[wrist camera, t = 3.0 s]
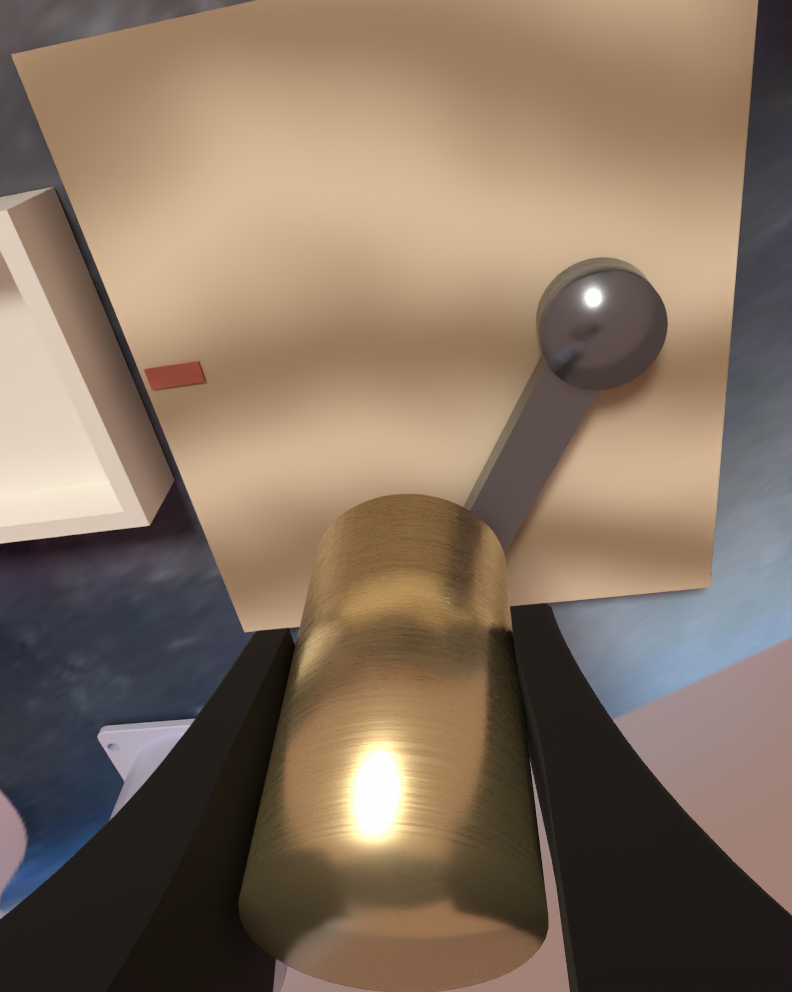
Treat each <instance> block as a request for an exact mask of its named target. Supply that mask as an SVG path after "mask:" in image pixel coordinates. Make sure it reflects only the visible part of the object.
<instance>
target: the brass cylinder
mask: <svg viewBox="0 0 792 992" xmlns="http://www.w3.org/2000/svg"><path fill="white" fill-rule="evenodd" d="M510 606H511V598H510V590H509V582H508V573H507V565H506V559H505V554H504V551H503V549H502V546H501V544H500V542H499V540H498V538H497V537H496V535H495V534H494V532H493V531H492V530H491V529H490V527H489V526H488V525H487V524H486V523H485V522H484V521H483V520H481V519H480V518H479V517H478V516H476V515H475V514H474V513H472V512H471V511H469V510H467V509H466V508H464V507H462V506H460V505H458V504H456V503H453V502H451V501H448V500H445V499H441V498H438V497H434V496H428V495H421V494H394V495H388V496H382V497H378V498H375V499H371V500H368V501H366V502H363V503H361V504H359V505H356V506H355V507H353V508H351V509H350V510H348V511H346V512H345V513H344V514H342V515H341V516H340V517H339V518H337V519H336V520H335V521H334V522H333V523H332V524H331V525H330V527H329V528H328V529H327V531H326V532H325V534H324V535H323V537H322V539H321V541H320V543H319V546H318V549H317V552H316V556H315V561H314V565H313V570H312V574H311V579H310V583H309V588H308V592H307V596H306V601H305V605H304V610H303V614H302V619H301V623H300V628H299V632H298V637H297V641H296V646H295V650H294V655H293V659H292V664H291V668H290V672H289V677H288V681H287V686H286V690H285V695H284V699H283V704H282V708H281V713H280V717H279V722H278V726H277V731H276V735H275V740H274V744H273V749H272V753H271V757H270V762H269V766H268V771H267V775H266V780H265V784H264V789H263V793H262V798H261V802H260V807H259V811H258V816H257V820H256V825H255V829H254V833H253V838H252V842H251V847H250V851H249V856H248V860H247V865H246V869H245V874H244V878H243V883H242V887H241V892H240V896H239V905H238V910H239V915H240V919H241V922H242V924H243V926H244V928H245V930H246V931H247V933H248V934H249V936H250V937H251V938H252V939H253V940H254V941H255V942H256V943H257V945H258V946H259V947H260V948H262V949H263V950H264V951H266V952H267V953H268V954H269V955H271V956H272V957H274V958H275V959H277V960H279V961H280V962H282V963H283V964H285V965H287V966H289V967H291V968H294V969H296V970H298V971H300V972H302V973H305V974H308V975H310V976H312V977H316V978H319V979H322V980H325V981H328V982H332V983H336V984H340V985H344V986H349V987H354V988H360V989H366V990H375V991H385V992H436V991H444V990H452V989H458V988H463V987H468V986H472V985H476V984H480V983H484V982H486V981H489V980H492V979H495V978H498V977H500V976H502V975H504V974H506V973H509V972H511V971H512V970H514V969H516V968H517V967H519V966H521V965H522V964H524V963H525V962H526V961H527V960H529V959H530V958H531V957H532V956H533V955H534V954H535V953H536V952H537V951H538V950H539V948H540V947H541V945H542V944H543V942H544V940H545V938H546V935H547V931H548V910H547V901H546V893H545V886H544V885H545V884H544V876H543V868H542V859H541V852H540V842H539V835H538V826H537V818H536V809H535V801H534V792H533V784H532V775H531V767H530V758H529V750H528V741H527V733H526V725H525V716H524V708H523V701H522V695H521V689H520V683H519V678H518V671H517V663H516V655H515V647H514V638H513V630H512V621H511V613H510Z"/></svg>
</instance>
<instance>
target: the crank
mask: <svg viewBox="0 0 792 992" xmlns="http://www.w3.org/2000/svg"><path fill="white" fill-rule="evenodd" d="M667 328H668V317H667V312H666V308H665V305H664V303H663V301H662V299H661V297H660V295H659V294H658V293H657V291H656V290H655V289H654V287H653V286H652V285H651V283H650V282H649V281H648V279H647V278H646V277H645V275H644V274H643V273H642V272H641V271H640V270H639V269H638V268H636V267H635V266H633V265H632V264H630V263H628V262H626V261H623V260H620V259H616V258H609V257H599V258H591V259H587V260H584V261H581V262H578V263H576V264H574V265H572V266H570V267H568V268H567V269H565V270H564V271H562V272H561V273H560V274H559V275H557V276H556V277H555V278H554V279H553V280H552V282H551V283H550V284H549V285H548V287H547V288H546V290H545V291H544V293H543V295H542V297H541V299H540V302H539V304H538V308H537V313H536V330H537V334H538V338H539V341H540V345H541V348H542V351H543V353H542V355H541V357H540V359H539V361H538V363H537V365H536V366H535V368H534V370H533V372H532V374H531V376H530V378H529V380H528V382H527V384H526V386H525V388H524V390H523V392H522V394H521V396H520V398H519V399H518V401H517V403H516V405H515V407H514V409H513V411H512V413H511V415H510V417H509V419H508V421H507V423H506V425H505V427H504V429H503V431H502V433H501V434H500V436H499V438H498V440H497V442H496V444H495V446H494V448H493V450H492V452H491V454H490V456H489V458H488V460H487V462H486V464H485V466H484V467H483V469H482V471H481V473H480V475H479V477H478V479H477V481H476V483H475V485H474V487H473V489H472V491H471V493H470V495H469V497H468V499H467V501H466V502H465V504H464V506H463V507H464V508H466V509H467V510H469V511H471V512H472V513H474V514H475V515H476V516H478V517H479V518H480V519H481V520H483V521H484V522H485V523H486V524H487V525H488V526H489V527H490V529H491V530H492V531H493V532H494V534H495V535H496V537H497V538H498V540H499V542H500V544H501V546H502V549H503V551H504V554H505V552H506V551H507V549H508V547H509V545H510V544H511V542H512V540H513V538H514V537H515V535H516V533H517V532H518V530H519V528H520V526H521V525H522V523H523V521H524V520H525V518H526V516H527V514H528V513H529V511H530V509H531V508H532V506H533V504H534V502H535V501H536V499H537V497H538V496H539V494H540V492H541V490H542V489H543V487H544V485H545V484H546V482H547V480H548V478H549V477H550V475H551V473H552V471H553V470H554V468H555V466H556V465H557V463H558V461H559V459H560V458H561V456H562V454H563V453H564V451H565V449H566V447H567V446H568V444H569V442H570V441H571V439H572V437H573V435H574V434H575V432H576V430H577V429H578V427H579V425H580V423H581V422H582V420H583V418H584V417H585V415H586V413H587V411H588V410H589V408H590V406H591V405H592V403H593V401H594V399H595V398H596V396H597V394H598V392H599V391H600V390H606V389H612V388H615V387H618V386H621V385H624V384H626V383H628V382H630V381H632V380H634V379H635V378H637V377H638V376H639V375H641V374H642V373H643V372H644V371H646V370H647V369H648V368H649V367H650V365H651V364H652V363H653V362H654V361H655V359H656V358H657V356H658V355H659V353H660V351H661V349H662V347H663V345H664V342H665V339H666V335H667Z"/></svg>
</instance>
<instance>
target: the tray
mask: <svg viewBox="0 0 792 992" xmlns="http://www.w3.org/2000/svg"><path fill="white" fill-rule="evenodd" d="M174 481H175V480H174V478H173V475H172V473H171V470H170V468H169V465H168V463H167V461H166V458H165V456H164V453H163V451H162V448H161V446H160V444H159V441H158V439H157V436H156V434H155V431H154V429H153V427H152V424H151V422H150V419H149V417H148V414H147V412H146V410H145V407H144V405H143V402H142V400H141V397H140V395H139V393H138V390H137V388H136V385H135V383H134V380H133V378H132V376H131V373H130V371H129V368H128V366H127V364H126V361H125V359H124V356H123V354H122V351H121V349H120V347H119V344H118V342H117V339H116V337H115V334H114V332H113V330H112V327H111V325H110V322H109V320H108V317H107V315H106V313H105V310H104V308H103V305H102V303H101V300H100V298H99V296H98V293H97V291H96V288H95V286H94V283H93V281H92V279H91V276H90V274H89V271H88V269H87V266H86V264H85V262H84V259H83V257H82V254H81V252H80V249H79V247H78V245H77V242H76V240H75V237H74V235H73V232H72V230H71V228H70V225H69V223H68V220H67V218H66V215H65V213H64V211H63V208H62V206H61V203H60V201H59V198H58V196H57V194H56V191H55V189H54V187H51V188H45V189H40V190H35V191H30V192H25V193H19V194H14V195H9V196H4V197H0V544H1V543H9V542H17V541H26V540H34V539H42V538H51V537H59V536H67V535H76V534H84V533H93V532H101V531H109V530H118V529H126V528H134V527H143V526H150V524H151V522H152V521H153V519H154V517H155V515H156V513H157V512H158V510H159V508H160V506H161V504H162V502H163V501H164V499H165V497H166V495H167V493H168V492H169V490H170V488H171V486H172V484H173V482H174Z"/></svg>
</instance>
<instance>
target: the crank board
mask: <svg viewBox="0 0 792 992" xmlns="http://www.w3.org/2000/svg"><path fill="white" fill-rule="evenodd" d="M757 10H758V0H256V1H251V2H247V3H242V4H238V5H233V6H229V7H224V8H220V9H215V10H210V11H206V12H201V13H197V14H192V15H188V16H183V17H179V18H174V19H170V20H165V21H161V22H156V23H152V24H147V25H143V26H138V27H134V28H129V29H125V30H120V31H116V32H111V33H107V34H102V35H97V36H93V37H88V38H84V39H79V40H75V41H70V42H66V43H61V44H57V45H52V46H48V47H43V48H39V49H34V50H30V51H25V52H21V53H16V54H12V55H11V56H12V58H13V61H14V63H15V66H16V68H17V71H18V73H19V75H20V78H21V80H22V83H23V85H24V88H25V90H26V93H27V95H28V98H29V100H30V103H31V105H32V108H33V110H34V113H35V115H36V118H37V120H38V122H39V125H40V127H41V130H42V132H43V135H44V137H45V140H46V142H47V145H48V147H49V150H50V152H51V155H52V157H53V160H54V162H55V165H56V167H57V169H58V172H59V174H60V177H61V179H62V182H63V184H64V187H65V189H66V192H67V194H68V197H69V199H70V202H71V204H72V207H73V209H74V212H75V214H76V217H77V219H78V221H79V224H80V226H81V229H82V231H83V234H84V236H85V239H86V241H87V244H88V246H89V249H90V251H91V254H92V256H93V259H94V261H95V264H96V266H97V268H98V271H99V273H100V276H101V278H102V281H103V283H104V286H105V288H106V291H107V293H108V296H109V298H110V301H111V303H112V306H113V308H114V311H115V313H116V315H117V318H118V320H119V323H120V325H121V328H122V330H123V333H124V335H125V338H126V340H127V343H128V345H129V348H130V350H131V353H132V355H133V358H134V360H135V362H136V365H137V367H138V370H139V372H140V375H141V377H142V380H143V382H144V385H145V387H146V390H147V392H148V395H149V397H150V400H151V402H152V405H153V407H154V410H155V412H156V414H157V417H158V419H159V422H160V424H161V427H162V429H163V432H164V434H165V437H166V439H167V442H168V444H169V447H170V449H171V452H172V454H173V457H174V459H175V461H176V464H177V466H178V469H179V471H180V474H181V476H182V479H183V481H184V484H185V486H186V489H187V491H188V494H189V496H190V499H191V501H192V504H193V506H194V508H195V511H196V513H197V516H198V518H199V521H200V523H201V526H202V528H203V531H204V533H205V536H206V538H207V541H208V543H209V546H210V548H211V551H212V553H213V556H214V558H215V560H216V563H217V565H218V568H219V570H220V573H221V575H222V578H223V580H224V583H225V585H226V588H227V590H228V593H229V595H230V598H231V600H232V603H233V605H234V607H235V610H236V612H237V615H238V617H239V620H240V622H241V625H242V627H243V630H244V632H251V631H259V630H269V629H280V628H292V627H300V623H301V619H302V614H303V610H304V605H305V601H306V596H307V592H308V588H309V583H310V579H311V574H312V570H313V565H314V561H315V556H316V552H317V549H318V546H319V543H320V541H321V539H322V537H323V535H324V534H325V532H326V531H327V529H328V528H329V527H330V525H331V524H332V523H333V522H334V521H335V520H336V519H337V518H339V517H340V516H341V515H342V514H344V513H345V512H346V511H348V510H350V509H351V508H353V507H355V506H356V505H359V504H361V503H363V502H366V501H368V500H371V499H375V498H378V497H382V496H388V495H394V494H421V495H428V496H434V497H438V498H441V499H445V500H448V501H451V502H453V503H456V504H458V505H460V506H462V507H463V506H464V504H465V502H466V501H467V499H468V497H469V495H470V493H471V491H472V489H473V487H474V485H475V483H476V481H477V479H478V477H479V475H480V473H481V471H482V469H483V467H484V466H485V464H486V462H487V460H488V458H489V456H490V454H491V452H492V450H493V448H494V446H495V444H496V442H497V440H498V438H499V436H500V434H501V433H502V431H503V429H504V427H505V425H506V423H507V421H508V419H509V417H510V415H511V413H512V411H513V409H514V407H515V405H516V403H517V401H518V399H519V398H520V396H521V394H522V392H523V390H524V388H525V386H526V384H527V382H528V380H529V378H530V376H531V374H532V372H533V370H534V368H535V366H536V365H537V363H538V361H539V359H540V357H541V355H542V353H543V351H542V348H541V345H540V341H539V338H538V334H537V330H536V313H537V308H538V304H539V302H540V299H541V297H542V295H543V293H544V291H545V290H546V288H547V287H548V285H549V284H550V283H551V282H552V280H553V279H554V278H555V277H556V276H557V275H559V274H560V273H561V272H562V271H564V270H565V269H567V268H568V267H570V266H572V265H574V264H576V263H578V262H581V261H584V260H587V259H591V258H599V257H609V258H616V259H620V260H623V261H626V262H628V263H630V264H632V265H633V266H635V267H636V268H638V269H639V270H640V271H641V272H642V273H643V274H644V275H645V277H646V278H647V279H648V281H649V282H650V283H651V285H652V286H653V287H654V289H655V290H656V291H657V293H658V294H659V295H660V297H661V299H662V301H663V303H664V305H665V308H666V312H667V317H668V328H667V335H666V339H665V342H664V345H663V347H662V349H661V351H660V353H659V355H658V356H657V358H656V359H655V361H654V362H653V363H652V364H651V365H650V367H649V368H648V369H647V370H646V371H644V372H643V373H642V374H641V375H639V376H638V377H637V378H635V379H634V380H632V381H630V382H628V383H626V384H624V385H621V386H618V387H615V388H612V389H606V390H600V391H599V392H598V394H597V396H596V398H595V399H594V401H593V403H592V405H591V406H590V408H589V410H588V411H587V413H586V415H585V417H584V418H583V420H582V422H581V423H580V425H579V427H578V429H577V430H576V432H575V434H574V435H573V437H572V439H571V441H570V442H569V444H568V446H567V447H566V449H565V451H564V453H563V454H562V456H561V458H560V459H559V461H558V463H557V465H556V466H555V468H554V470H553V471H552V473H551V475H550V477H549V478H548V480H547V482H546V484H545V485H544V487H543V489H542V490H541V492H540V494H539V496H538V497H537V499H536V501H535V502H534V504H533V506H532V508H531V509H530V511H529V513H528V514H527V516H526V518H525V520H524V521H523V523H522V525H521V526H520V528H519V530H518V532H517V533H516V535H515V537H514V538H513V540H512V542H511V544H510V545H509V547H508V549H507V551H506V552H505V559H506V565H507V573H508V582H509V590H510V598H511V606H518V605H528V604H539V603H553V602H563V601H574V600H584V599H594V598H605V597H615V596H626V595H636V594H646V593H657V592H667V591H678V590H688V589H699V588H709V587H710V581H711V569H712V557H713V544H714V532H715V520H716V508H717V496H718V484H719V472H720V459H721V447H722V435H723V423H724V411H725V399H726V386H727V374H728V362H729V350H730V338H731V326H732V313H733V301H734V289H735V277H736V265H737V253H738V241H739V228H740V216H741V204H742V192H743V180H744V168H745V155H746V143H747V131H748V119H749V107H750V95H751V83H752V70H753V58H754V46H755V34H756V22H757Z"/></svg>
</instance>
